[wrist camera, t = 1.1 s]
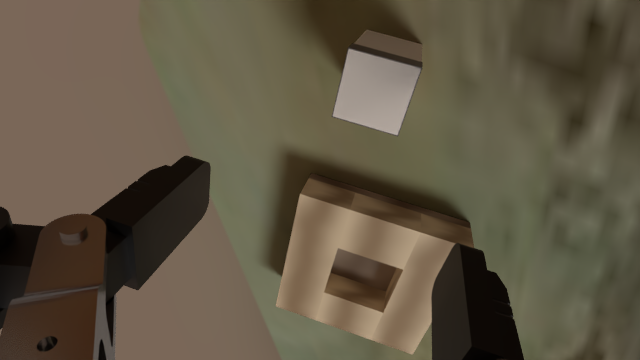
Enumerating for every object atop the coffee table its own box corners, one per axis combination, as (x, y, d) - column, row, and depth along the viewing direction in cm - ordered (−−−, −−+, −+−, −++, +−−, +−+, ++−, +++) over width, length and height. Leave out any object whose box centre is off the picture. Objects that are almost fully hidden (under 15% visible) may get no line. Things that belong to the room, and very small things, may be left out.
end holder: (469, 222, 35) (474, 249, 32) (413, 324, 44) (412, 354, 41) (311, 173, 37) (299, 193, 34) (286, 280, 46) (275, 306, 42)
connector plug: (423, 43, 29) (422, 68, 22) (404, 99, 31) (397, 136, 24) (366, 28, 29) (348, 47, 22) (351, 84, 32) (331, 116, 25)
